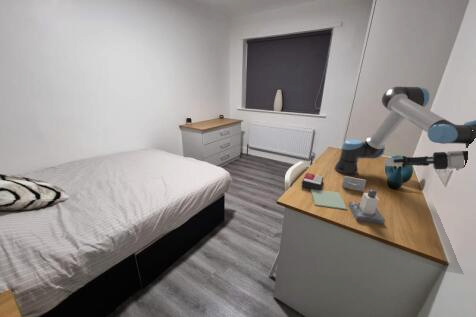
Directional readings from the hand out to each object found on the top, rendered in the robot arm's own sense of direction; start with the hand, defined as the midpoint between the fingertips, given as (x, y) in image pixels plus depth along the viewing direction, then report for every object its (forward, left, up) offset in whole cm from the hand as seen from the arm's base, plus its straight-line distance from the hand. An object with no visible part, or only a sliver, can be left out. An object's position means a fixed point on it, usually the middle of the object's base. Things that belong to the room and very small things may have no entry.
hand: (385, 162), depth 98 cm
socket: (+10, -6, -25) cm, 28 cm away
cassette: (-16, -4, -26) cm, 31 cm away
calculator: (-16, -28, -25) cm, 41 cm away
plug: (+10, -6, -25) cm, 28 cm away
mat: (0, -22, -25) cm, 34 cm away
